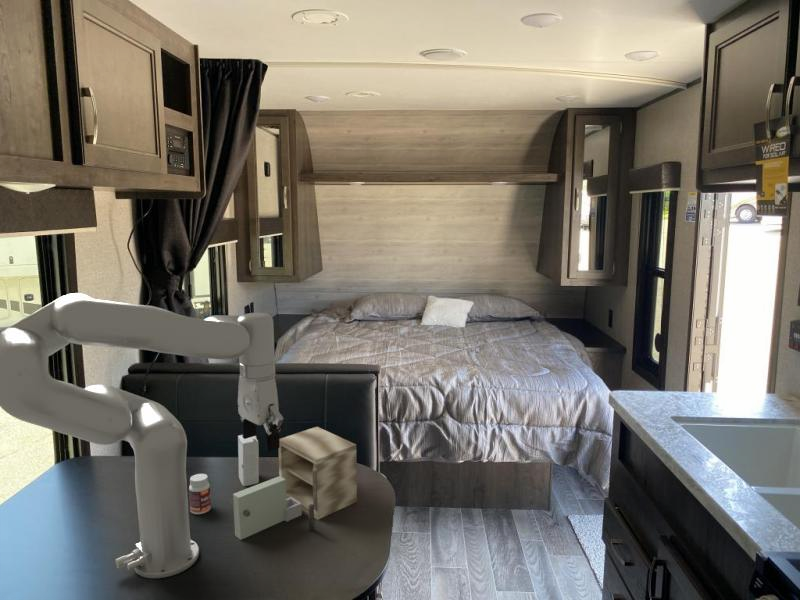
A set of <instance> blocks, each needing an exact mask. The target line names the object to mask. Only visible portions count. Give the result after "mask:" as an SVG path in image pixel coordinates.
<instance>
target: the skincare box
mask: <svg viewBox="0 0 800 600" xmlns="http://www.w3.org/2000/svg"><path fill="white" fill-rule="evenodd" d="M237 446H238V447H237V448H238V449H237V453H238V455H237V456H238V478H239V481H240V483H241V485H242V487H247V486H254V485H258V484H260V479H259V478H260V477H259V475H260V471H259V469H260V465H259V464H260V463H259V462H260V460H259V459H260V458H259V457H260V456H259V455H260V453H259V450H260V448H259V446H260V445H259V439H257V435H255V436H253V437H250V438H247V439H244V438H243V434H240V435H237Z"/></svg>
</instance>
